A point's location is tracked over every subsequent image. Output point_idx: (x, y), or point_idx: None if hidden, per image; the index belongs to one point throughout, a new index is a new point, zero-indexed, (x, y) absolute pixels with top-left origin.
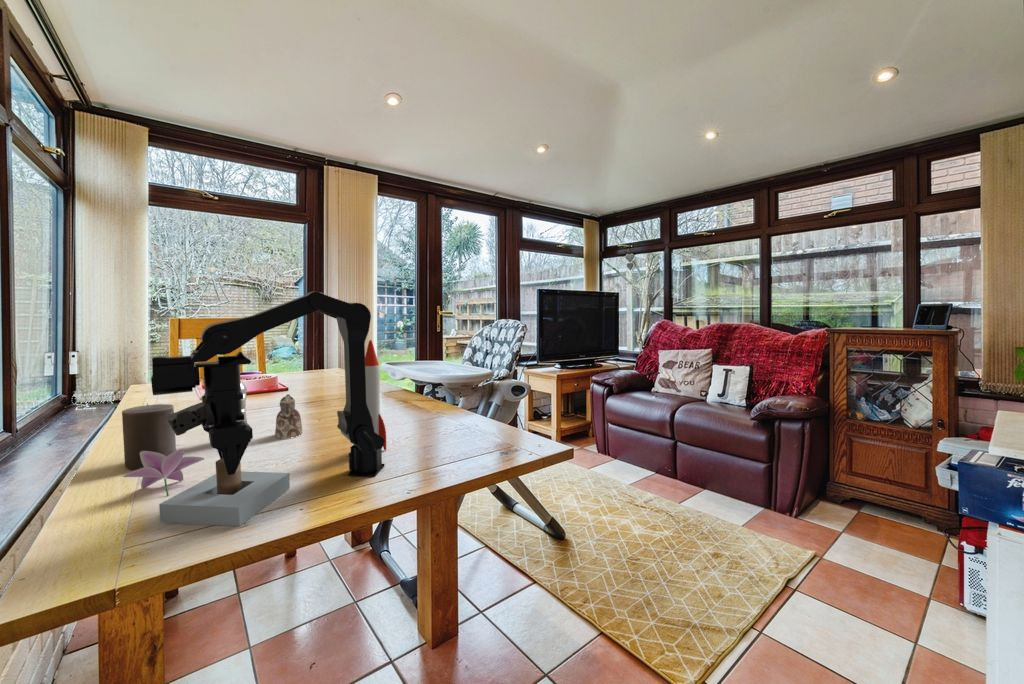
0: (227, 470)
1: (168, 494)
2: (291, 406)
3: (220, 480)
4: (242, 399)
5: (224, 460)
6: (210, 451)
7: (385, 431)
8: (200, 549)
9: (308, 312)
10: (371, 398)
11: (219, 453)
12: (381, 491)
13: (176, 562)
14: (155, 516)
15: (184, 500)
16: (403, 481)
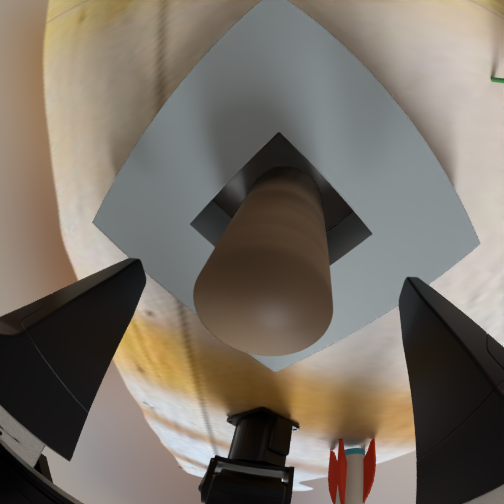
0: (110, 269)
1: (494, 81)
2: None
3: (239, 214)
4: None
5: (52, 296)
6: None
7: (329, 480)
8: (70, 125)
9: None
10: None
11: (422, 302)
12: (164, 396)
13: (52, 92)
14: (350, 8)
15: (246, 64)
16: (185, 419)
